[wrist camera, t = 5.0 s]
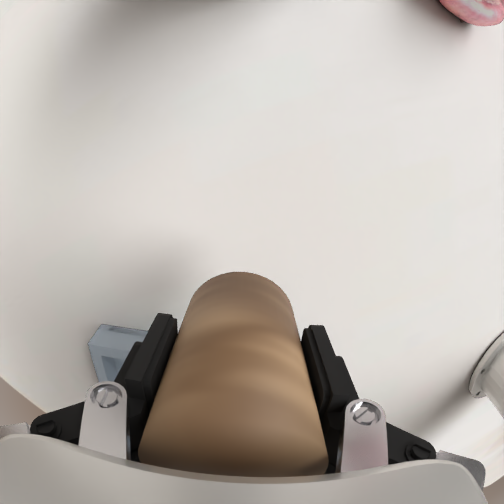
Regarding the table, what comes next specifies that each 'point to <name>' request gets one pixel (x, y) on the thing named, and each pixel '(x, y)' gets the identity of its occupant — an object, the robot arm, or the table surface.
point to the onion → (476, 11)
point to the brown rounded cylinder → (236, 388)
